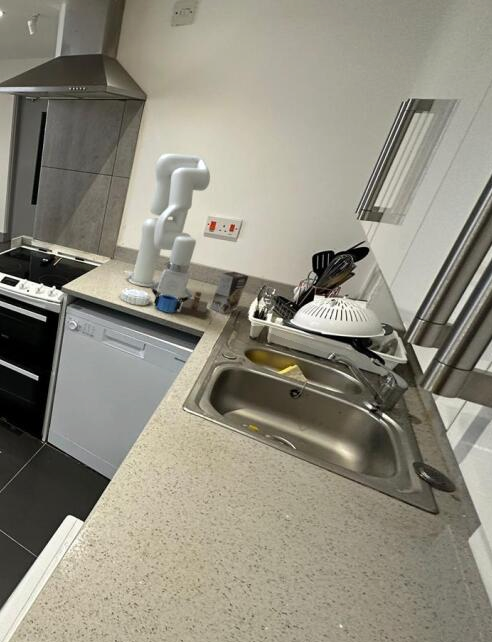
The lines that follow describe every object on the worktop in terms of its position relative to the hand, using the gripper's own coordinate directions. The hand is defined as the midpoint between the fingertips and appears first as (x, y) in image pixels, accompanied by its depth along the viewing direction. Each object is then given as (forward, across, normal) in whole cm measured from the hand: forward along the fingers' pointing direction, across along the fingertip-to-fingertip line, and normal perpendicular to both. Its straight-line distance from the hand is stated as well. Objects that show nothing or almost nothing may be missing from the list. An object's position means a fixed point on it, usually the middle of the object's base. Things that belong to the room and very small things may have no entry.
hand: (166, 307), depth 163 cm
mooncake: (+1, -13, +2) cm, 13 cm away
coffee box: (+1, +21, +18) cm, 28 cm away
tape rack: (+1, +10, +7) cm, 12 cm away
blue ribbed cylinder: (0, 0, 0) cm, 0 cm away
